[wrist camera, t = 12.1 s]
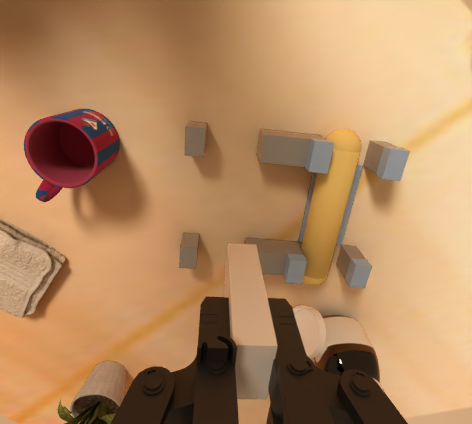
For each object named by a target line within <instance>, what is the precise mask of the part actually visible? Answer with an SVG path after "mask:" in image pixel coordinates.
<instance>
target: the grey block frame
mask: <svg viewBox="0 0 472 424" xmlns="http://www.w3.org/2000/svg"><path fill="white" fill-rule="evenodd" d="M206 131H207V123H201V122H191V121H189V122H188V124H187V125H186V135H185V155H187V156H197V157H204V153H205V145H206ZM333 147H334V143H333V142H332V141H330V140H327V139H325V138H324V137H322V136H321V135H314V134H305V133H295V132H286V131H276V130H267V129H260V133H259V140H258V148H257V157H258V159H259V162H260V163H269V164H279V165H290V166H300V167H305V168H306V169H307V171H308V172H313V175H312V180H311V185H310V189H309V194H308V199H307V203H306V208H305V213H304V218H303V222H302V227H301V232H300V236H299V242H302V241H303V237H304V232H305V227H306V223H307V218H308V214H309V209H310V205H311V200H312V195H313V191H314V186H315V182H316V177H317V173H325V174H327V173H328V169H329V164H330V160H331V156H332V151H333ZM409 152H410V151H409V150H406V149H404V148H399V147H397V146H394V145H392V144H390V143H387V142H380V141H371V140H370V143H369V147H368V150H367V154H366V157H365V161H364V165H363V166H365V167H366V168H368V169H369V170H371V171H373V172H374V173H376V175H377V176H378V177H380V178H381V179H388V180H398V181H400V180H401V176H402V173H403V170H404V167H405V164H406V161H407V158H408V155H409ZM363 166H357V167H356V171H355V175H354V178H353V182H352V186H351V190H350V193H349V197H348V201H347V205H346V208H345V212H344V216H343V220H342V223H341V227H340V231H339V235H338V238H337V242H336V245H341V248H340V252H339V256H338V259H337V263H336V265H337V266H338V268H339V270H340V271H341V273H342V275H343V276H344V278H345V281H346V282H347V284H348V286H349V287H355V288H365V286H366V283H367V280H368V277H369V274H370V271H371V268H372V266H371V264H370V263H369V262H368V260H366V259H365V258H364V256H363V255H362V254H361V252H360V251H359V250H358V248H357V247H356V246H347V245H342V241H343V237H344V234H345V230H346V227H347V223H348V219H349V216H350V212H351V208H352V205H353V201H354V197H355V194H356V190H357V187H358V183H359V179H360V176H361V172H362V168H363ZM198 243H199V234H192V233H183V237H182V241H181V246H180V264H179V268H189V269H196V263H197V255H198ZM244 244H254V245H256V246H257V250H258V255H259V260H260V265H261V270H262V274H277V275H284V279H285V282H286V283H295V284H302V281H303V277H304V272H305V268H306V264H307V260H306V258H305V256H304V255H303V253H302V250H301V248H300V246H299V244H298V242H295V241H282V240H269V239H256V238H245V243H244Z"/></svg>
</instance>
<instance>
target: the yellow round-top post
mask: <svg viewBox="0 0 472 424" xmlns="http://www.w3.org/2000/svg"><path fill="white" fill-rule="evenodd" d="M326 139H327V140H330V141H332V142H333V143H334V147H333V151H332V156H331V160H330V164H329V169H328V173H327V174H325V173H317V177H316V182H315V186H314V191H313V195H312V200H311V205H310V209H309V214H308V218H307V223H306V227H305V232H304V237H303V241H302V246H301V250H302V253H303V255H304V256H305V258H306V260H307V264H306V268H305V272H304V277H303V282H304V283H305V284H307V285H312V286H313V285H319V284H321V283H322V282H324V281H325V279H326V278H327V276H328V272H329V268H330V265H331V261H332V257H333V253H334V250H335V246H336V242H337V238H338V235H339V231H340V227H341V223H342V220H343V216H344V212H345V208H346V205H347V201H348V197H349V193H350V190H351V186H352V182H353V178H354V175H355V171H356V167H357V163H358V160H359V156H360V152H361V141H360V139H359V137H358V136H357V134H356V133H354V132H353V131H351V130H348V129H339V130H336V131H334V132H332V133H331V134H330V135H329V136H328V137H327V138H326Z"/></svg>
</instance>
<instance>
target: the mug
mask: <svg viewBox="0 0 472 424" xmlns="http://www.w3.org/2000/svg"><path fill="white" fill-rule="evenodd" d="M24 151H25V155H26V158H27V160H28V163H29V164H30V166H31V168H32V169H33V170H34V171H35V173H36V174H38V175H39V176H40V177H41V178H42V179H44V180H43V181H42V183H41V185H40V186H39V188H38V190H37V192H36V198H37V199H39V200H40V201H43V202H47V201H49V200H51V199H52V198H53V197H54V196H56V195H57V194H58V193H59V192H60V190H61V189H62V188H63V187H64V188H74V187H79V186H82V185H84V184H86V183H87V182H89V181H90V180H91V179H92V178H94V177H95V176H96V175H97V174H98V173H100V172H101V171H102V170H103V169H104V168H106V167H107V166H108V165H109V164H110V163H112V162H113V161H114V159H115V158H116V156H117V154H118V151H119V137H118V133H117V131H116V129H115V127H114V126H113V124H112V123H111V122H110V121H109V120H108V119H107V118H106V117H105V116H104V115H102V114H100V113H98V112H96V111H93V110H89V109H77V110H73V111H69V112H65V113H62V114H58V115H54V116H50V117H46V118H43V119H40V120H38V121H37V122H35V123H34V124H33V125H32V126H31V127H30V128H29V130H28V131H27V133H26V136H25V140H24Z"/></svg>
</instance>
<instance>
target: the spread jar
mask: <svg viewBox="0 0 472 424" xmlns="http://www.w3.org/2000/svg"><path fill="white" fill-rule="evenodd" d="M293 312H294V315H295V319H296V322H297V326H298V329H299V332H300V335H301V339H302V342H303V345H304V349H305V352H306V354H307V356H308V357H309V358H310V359H311V360H312V361H313V362H314V364H315V366H317V367H318V368H320V369H322V370H324V371H326V372H329V373H333V374H336V375H339V376H341V375H342V373H343V372H344V371H346V370H348V369H357V370H360V371H363V372H365V373H367V374H368V375H370V376H371V377H372V378H373V379H374V380H375V381H376V382H377V383H378V385H379V386H380V387H381V389H382V390H383V388H382V386H381V385H380V372H379V364H378V359H377V356H376V353H375V351H374V348H373V346H372V344H371V342H370V340H369V338H368V336H367V335H366V333H365V331H364V329H363V328H362V326H361V325H360V323H359V322H358V321H357V320H355V319H353V318H351V317H347V316H342V315H329V316H324V317H322V316H321V314H320V313H319V312H318V311H317V310H316V309H314V308H313V307H309V306H296V307H295V308H293ZM383 391H384V390H383ZM384 393H385V392H384Z"/></svg>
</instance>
